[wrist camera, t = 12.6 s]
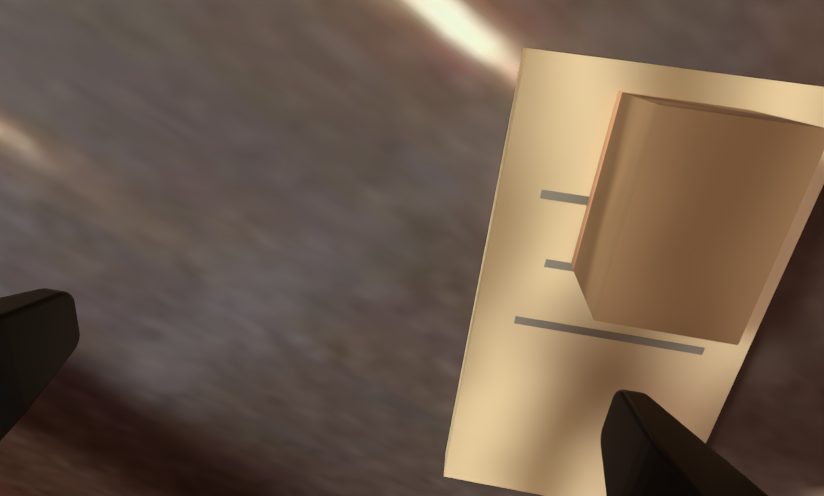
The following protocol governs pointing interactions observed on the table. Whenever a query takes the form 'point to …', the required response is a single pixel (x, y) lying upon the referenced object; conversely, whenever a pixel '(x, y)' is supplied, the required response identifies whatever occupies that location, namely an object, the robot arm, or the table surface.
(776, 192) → the block
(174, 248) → the table surface
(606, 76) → the birch board
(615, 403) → the robot arm
